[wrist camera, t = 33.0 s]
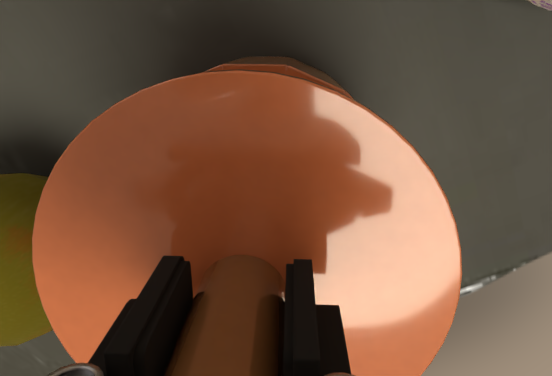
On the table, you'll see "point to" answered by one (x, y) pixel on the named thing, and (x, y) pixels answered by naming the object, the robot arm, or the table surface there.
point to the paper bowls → (542, 3)
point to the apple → (19, 260)
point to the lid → (249, 224)
